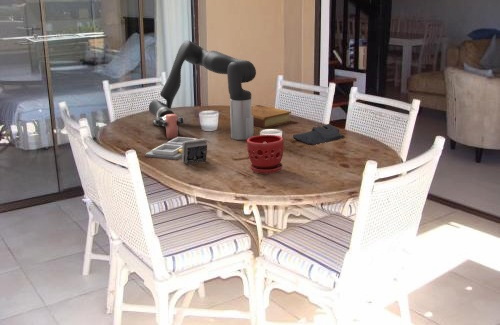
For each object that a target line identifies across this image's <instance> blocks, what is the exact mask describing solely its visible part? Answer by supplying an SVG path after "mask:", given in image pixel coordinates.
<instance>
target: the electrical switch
mask: <svg viewBox="0 0 500 325" xmlns="http://www.w3.org/2000/svg"><path fill="white" fill-rule="evenodd" d="M196 139H197V140H188V141H184V142H183V147H182V157H181V162H182V163H185V164H186V165H187V166H189V165H195V164H203V163H206V162H207V155H208V154H207V153H208V144H207V143H208V139H206V138H199V139H198V138H196Z"/></svg>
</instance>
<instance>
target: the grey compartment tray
mask: <svg viewBox="0 0 500 325" xmlns="http://www.w3.org/2000/svg"><path fill="white" fill-rule="evenodd" d="M197 139H198V138H197V137H196V138H193V137H184V136H183V137H182V136H178V137H177V138H175V139H170V140H169V141H167V142H165V143H163V144H161V145H159V146H157V147H155V148H153V149H152V150H150V151H147V152H146V153H145V157H146V158H147V157H149V158H158V159H168V160H178V159H180V158H182V147H183V142H184V141H188V140H197Z"/></svg>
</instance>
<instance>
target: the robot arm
mask: <svg viewBox="0 0 500 325" xmlns="http://www.w3.org/2000/svg"><path fill="white" fill-rule="evenodd" d="M185 61H186V62H188V63H190V64H192V65H194V66H201V67H204V68H205V69H206V70H208V71H209V72H212V73H214V74H215V73H216V74H219V75H226V76H227V87H228V89H227V90H228V94H229V108H230V109H229V110H230V113H229V115H230V116H229V117H230V138H231V139H232V140H238V141H240V140H241V141H243V140H245V141H246V140H247V139H248V138H250V137H253V136H255V135H254V126H253V115H252V109H251V106H252V93H251V91H249V90H246V89H244V88H243V87H242V86H243V85H242V84H243V83H249V82H252V81H253V80H254V79H255V78H256V76H257V71H256V70H257V69H256V66H255V65H254V64H253V63H252V62H251V61H250V60H244V59H240V58H235V57H233V56H230V55H227V54H224V53H222V52H219V51H217V50H209V51H208V50H206V49H204V48H203V47H201V45H198V44H196V43H195V42H192V41H191V40H189V39H188V40H184V41H183V42H182V43H181V45H180V46H179V48H178V50H177V53H176V56H175V58H174V61H173V65H172V67H171V70H170V73H169V75H168V78H166V82H165V83H164V85H163V86H162V89H161V91H160V93H159V95H160V96H161V98H162V99H164V100H165V101H166V103H164V102H162V101H160V100H157V99H154V100H152V101H151V102H149V105H148V111H149V113H150V114H152V115H153V116H154V117H153V124H154V125H156V126H163V127H165V128H166V127H167V122H166V118H165V115H167V114H175V113H174V111H173V110H172V105H173V102H174V99H175V97H176V95H177V93H178V92H179V89H180V87H181V83H182V79H181V78H182V68H183V64H184V62H185ZM184 121H185V120H184V115H183V114H182V115H179V116H177V126H178V127H180V126H181V125H183V124H184V123H185V122H184Z"/></svg>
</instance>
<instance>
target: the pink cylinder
mask: <svg viewBox="0 0 500 325" xmlns="http://www.w3.org/2000/svg"><path fill="white" fill-rule="evenodd" d="M177 117H178V114H176V113H174V114H167V115H165V118H166V122H167V127H165V131H166V139H169V140H173V139H175V138H177V137H179V131H178V128H179V126H178V125H177Z"/></svg>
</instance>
